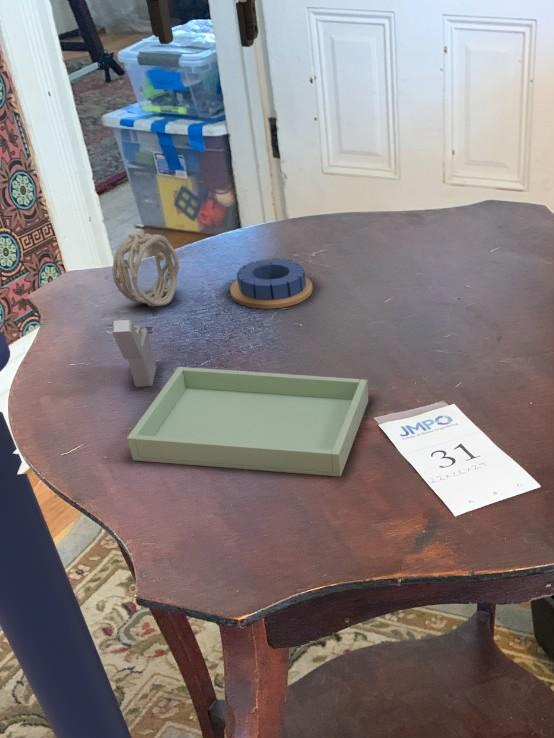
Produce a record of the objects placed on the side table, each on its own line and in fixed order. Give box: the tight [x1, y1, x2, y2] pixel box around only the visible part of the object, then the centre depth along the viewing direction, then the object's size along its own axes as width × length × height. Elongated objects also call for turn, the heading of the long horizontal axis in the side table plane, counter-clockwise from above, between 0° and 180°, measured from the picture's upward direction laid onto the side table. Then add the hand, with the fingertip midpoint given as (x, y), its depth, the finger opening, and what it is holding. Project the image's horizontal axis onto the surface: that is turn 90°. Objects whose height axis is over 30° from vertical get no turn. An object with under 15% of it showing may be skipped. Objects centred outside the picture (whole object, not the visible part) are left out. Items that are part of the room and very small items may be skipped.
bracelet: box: [112, 232, 180, 307], centre depth 100 cm, size 4×8×8 cm, turn 157°
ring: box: [236, 258, 306, 300], centre depth 104 cm, size 8×8×2 cm
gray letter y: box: [111, 319, 157, 388], centre depth 85 cm, size 7×2×8 cm, turn 8°
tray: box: [126, 366, 369, 477], centre depth 81 cm, size 19×13×2 cm
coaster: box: [229, 276, 314, 310], centre depth 105 cm, size 10×10×1 cm
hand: (207, 44), depth 87 cm, fingers open, 8 cm apart
